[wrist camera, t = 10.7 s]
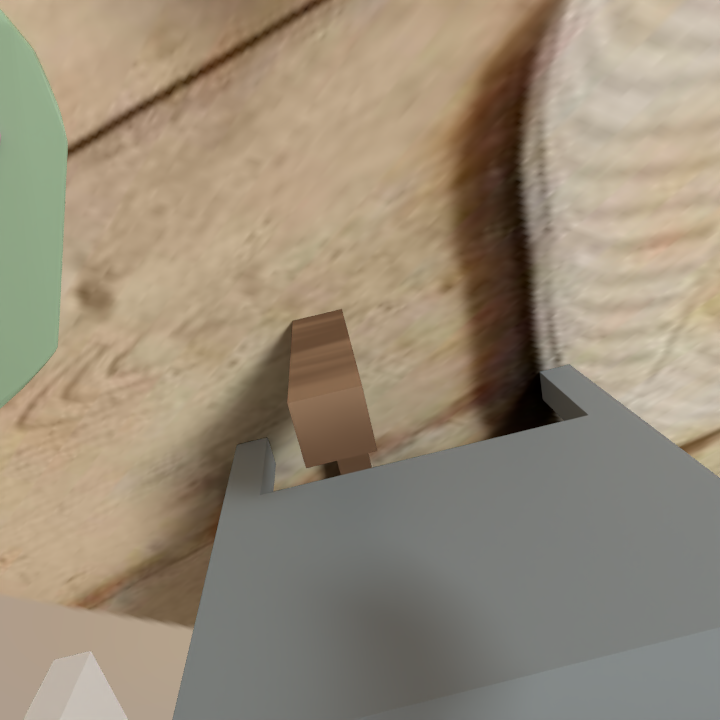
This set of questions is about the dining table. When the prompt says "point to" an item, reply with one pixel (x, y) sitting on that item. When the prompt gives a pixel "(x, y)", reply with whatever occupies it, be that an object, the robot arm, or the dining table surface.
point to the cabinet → (470, 581)
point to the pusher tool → (328, 395)
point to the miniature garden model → (28, 213)
